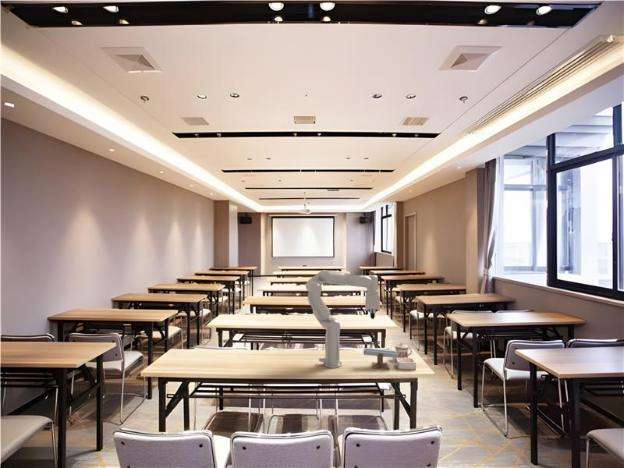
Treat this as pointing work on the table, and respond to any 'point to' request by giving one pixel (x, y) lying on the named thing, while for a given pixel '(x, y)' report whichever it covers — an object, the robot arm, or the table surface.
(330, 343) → the robot arm
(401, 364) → the white rectangular tray
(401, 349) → the teacup with lid
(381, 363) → the stand
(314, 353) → the table surface
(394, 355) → the lever
